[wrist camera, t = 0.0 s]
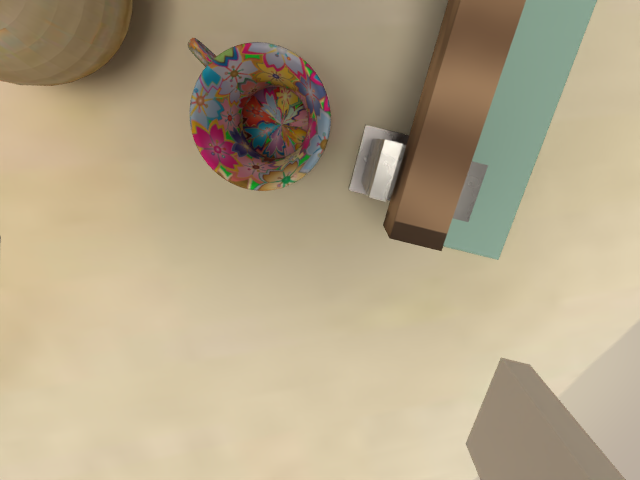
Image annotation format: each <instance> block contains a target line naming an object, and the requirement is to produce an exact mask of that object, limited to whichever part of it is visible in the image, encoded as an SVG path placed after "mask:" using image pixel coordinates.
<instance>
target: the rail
mask: <svg viewBox="0 0 640 480" xmlns="http://www.w3.org/2000/svg"><path fill="white" fill-rule="evenodd" d="M525 2H526V0H449V1H448V4H447V8H446V11H445V14H444V18H443V21H442V25H441V28H440V32H439V35H438V38H437V42H436V45H435V49H434V52H433V56H432V59H431V62H430V66H429V69H428V73H427V76H426V80H425V83H424V87H423V90H422V93H421V97H420V100H419V104H418V107H417V111H416V114H415V117H414V121H413V124H412V128H411V131H410V135H409V138H408V141H407V145H406V148H405V152H404V155H403V159H402V162H401V165H400V169H399V172H398V176H397V179H396V183H395V186H394V190H393V193H392V196H391V200H390V203H389V207H388V210H387V214H386V217H385V220H384V224H383V226H384V228H385V230H386V232H387V234H388V236H389V238H391V239H395V240H399V241H403V242H407V243H411V244H415V245H419V246H423V247H427V248H431V249H435V250H439V251H442V248H443V245H444V242H445V239H446V236H447V233H448V230H449V227H450V224H451V221H452V218H453V215H454V212H455V209H456V206H457V203H458V200H459V197H460V195H461V192H462V189H463V186H464V183H465V180H466V177H467V174H468V171H469V168H470V165H471V162H472V159H473V156H474V153H475V150H476V147H477V144H478V141H479V138H480V135H481V132H482V129H483V126H484V123H485V120H486V118H487V115H488V112H489V109H490V106H491V103H492V100H493V97H494V94H495V91H496V88H497V85H498V82H499V79H500V76H501V73H502V70H503V67H504V64H505V61H506V58H507V55H508V52H509V49H510V46H511V43H512V41H513V38H514V35H515V32H516V29H517V26H518V23H519V20H520V17H521V14H522V11H523V8H524V5H525Z"/></svg>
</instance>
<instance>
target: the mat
mask: <svg viewBox="0 0 640 480" xmlns="http://www.w3.org/2000/svg"><path fill="white" fill-rule="evenodd" d="M596 2H597V0H526V2H525V5H524V8H523V11H522V14H521V17H520V20H519V23H518V26H517V29H516V32H515V35H514V38H513V41H512V43H511V46H510V49H509V52H508V55H507V58H506V61H505V64H504V67H503V70H502V73H501V76H500V79H499V82H498V85H497V88H496V91H495V94H494V97H493V100H492V103H491V106H490V109H489V112H488V115H487V118H486V120H485V123H484V126H483V129H482V132H481V135H480V138H479V141H478V144H477V147H476V150H475V153H474V156H473V159H472V161H473V162H477V163H481V164H485V165H488V168H487V170H486V173H485V176H484V179H483V182H482V185H481V188H480V190H479V193H478V196H477V199H476V202H475V205H474V208H473V211H472V213H471V216H470V219H469V222H465V221H461V220H457V219H453V218H452V221H451V224H450V227H449V230H448V233H447V236H446V239H445V242H444V245H443V246H444V247H448V248H452V249H457V250H461V251H465V252H469V253H473V254H477V255H481V256H485V257H489V258H493V259H497V260H498V259H499V257H500V254H501V251H502V249H503V246H504V244H505V241H506V238H507V236H508V233H509V230H510V228H511V225H512V223H513V220H514V217H515V215H516V212H517V209H518V207H519V204H520V202H521V199H522V196H523V194H524V191H525V188H526V186H527V183H528V180H529V178H530V175H531V173H532V170H533V167H534V165H535V162H536V159H537V157H538V154H539V152H540V149H541V146H542V144H543V141H544V138H545V136H546V133H547V130H548V128H549V125H550V123H551V120H552V117H553V115H554V112H555V109H556V107H557V104H558V102H559V99H560V96H561V94H562V91H563V88H564V86H565V83H566V81H567V78H568V75H569V73H570V70H571V67H572V65H573V62H574V59H575V57H576V54H577V52H578V49H579V46H580V44H581V41H582V38H583V36H584V33H585V31H586V28H587V25H588V23H589V20H590V17H591V15H592V12H593V10H594V7H595V4H596Z"/></svg>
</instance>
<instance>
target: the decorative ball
mask: <svg viewBox="0 0 640 480" xmlns="http://www.w3.org/2000/svg"><path fill="white" fill-rule="evenodd" d="M132 5H133V0H0V81H5V82H9V83H14V84H18V85H40V86H53V85H59V84H65V83H70V82H73V81H75V80H78V79H80V78H83V77H85V76H87V75H90V74H92V73H94V72H95V71H97V70H98V69H99V68H101V67H102V66H103V65H105V64H106V63H107V62H109V60H110V59H111V58H112V57H113V55H114V54H115V53H116V52H117V51H118V49H119V48H120V46H121V44H122V42H123V40H124V38H125V36H126V34H127V32H128V28H129V23H130V19H131V15H132Z"/></svg>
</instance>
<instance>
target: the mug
mask: <svg viewBox="0 0 640 480" xmlns="http://www.w3.org/2000/svg"><path fill="white" fill-rule="evenodd" d="M188 48H189V49H190V50H191V52H192V53H193V54H194V55H195V56H196V57H197V59H198V60H199V61H200V62H201V63H202V64H203V65H204V66H205V67H206V68H205V69H204V70H203V72H202V73H201V75H200V77H199V78H198V80H197V82H196V85H195V87H194V90H193V94H192V98H191V103H190V124H191V130H192V134H193V137H194V141H195V143H196V146H197V148H198V150H199V152H200V153H201V155H202V157H203V158H204V160H205V161H206V162H207V164H208V165H209V166H210V167H211V168H212V169H213V170H214V171H215V172H216V173H217V174H218V175H220V176H221V177H222V178H224V179H225V180H227V181H229V182H230V183H232V184H234V185H237V186H239V187H242V188H246V189H250V190H258V191H268V190H275V189H280V188H283V187H286V186H288V185H291V184H293V183H295V182H296V181H298V180H300V179H301V178H302V177H304V176H305V175H306V174H307V173H308V172H309V171H310V170H311V169H312V168H313V167H314V166H315V165H316V163H317V162H318V160H319V159H320V157H321V156H322V154H323V151H324V149H325V147H326V144H327V141H328V137H329V132H330V124H331V114H330V106H329V101H328V97H327V94H326V91H325V89H324V86H323V84H322V82H321V81H320V79H319V77H318V76H317V74H316V73H315V71H314V70H313V69H312V68H311V67H310V65H309V64H308V63H307V62H306V61H304V60H303V59H302V58H301V57H300V56H298V55H297V54H295V53H294V52H292V51H290V50H288V49H286V48H284V47H281V46H278V45H275V44H270V43H262V42H252V43H245V44H241V45H237V46H235V47H232V48H230V49H228V50H226V51H224V52H222V53H221V54H219V55H218V56H216V55H215V54H214V53H212V52H211V51H210V50H209V49H208V48H207V47H206V46H205V45H203V44H202V43H201V42H200V41H199V40H197V39H196V38H192V39H191V40H190V41H189V42H188Z"/></svg>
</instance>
